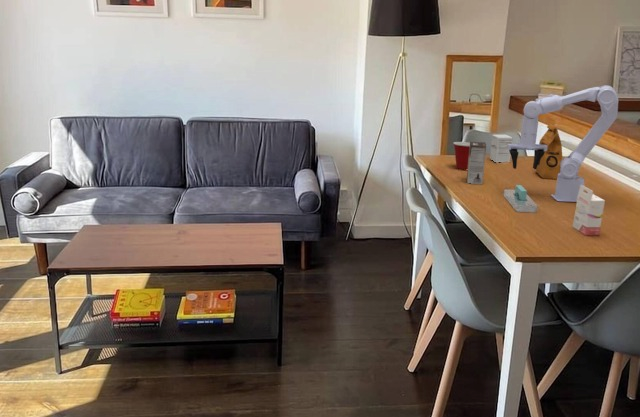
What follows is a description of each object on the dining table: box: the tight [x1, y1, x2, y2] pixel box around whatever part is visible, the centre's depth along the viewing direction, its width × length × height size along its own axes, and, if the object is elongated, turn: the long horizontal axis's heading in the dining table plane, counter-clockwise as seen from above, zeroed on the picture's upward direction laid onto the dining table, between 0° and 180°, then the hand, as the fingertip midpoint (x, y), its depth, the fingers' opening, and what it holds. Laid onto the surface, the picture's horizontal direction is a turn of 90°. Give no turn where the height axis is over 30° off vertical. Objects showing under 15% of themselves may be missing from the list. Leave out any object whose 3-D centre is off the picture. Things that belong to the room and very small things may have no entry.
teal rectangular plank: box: [514, 184, 528, 201], centre depth 217 cm, size 2×8×6 cm, turn 177°
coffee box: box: [466, 141, 487, 185], centre depth 244 cm, size 9×6×16 cm
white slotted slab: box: [503, 189, 539, 213], centre depth 217 cm, size 7×20×2 cm, turn 176°
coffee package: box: [535, 123, 563, 180], centre depth 254 cm, size 10×12×22 cm
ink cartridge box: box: [572, 185, 606, 236], centre depth 188 cm, size 9×5×15 cm, turn 5°
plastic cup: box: [452, 141, 470, 170], centre depth 266 cm, size 11×11×12 cm
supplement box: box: [489, 134, 514, 163], centre depth 280 cm, size 7×7×13 cm
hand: (524, 168), depth 226 cm, fingers open, 7 cm apart
